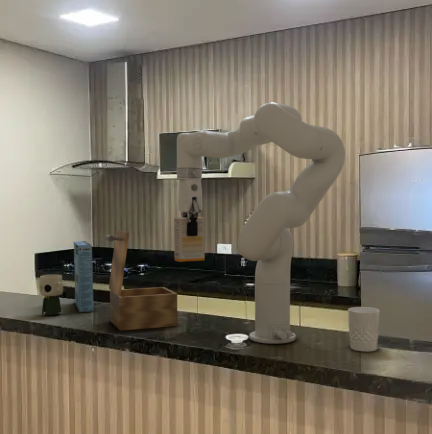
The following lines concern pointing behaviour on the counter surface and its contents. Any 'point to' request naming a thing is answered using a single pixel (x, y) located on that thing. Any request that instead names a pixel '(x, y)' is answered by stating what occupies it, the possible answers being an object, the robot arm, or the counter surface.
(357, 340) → the white cup
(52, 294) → the character mug
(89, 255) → the gum box
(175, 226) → the supplement box
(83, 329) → the counter surface
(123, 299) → the chest
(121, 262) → the lid
